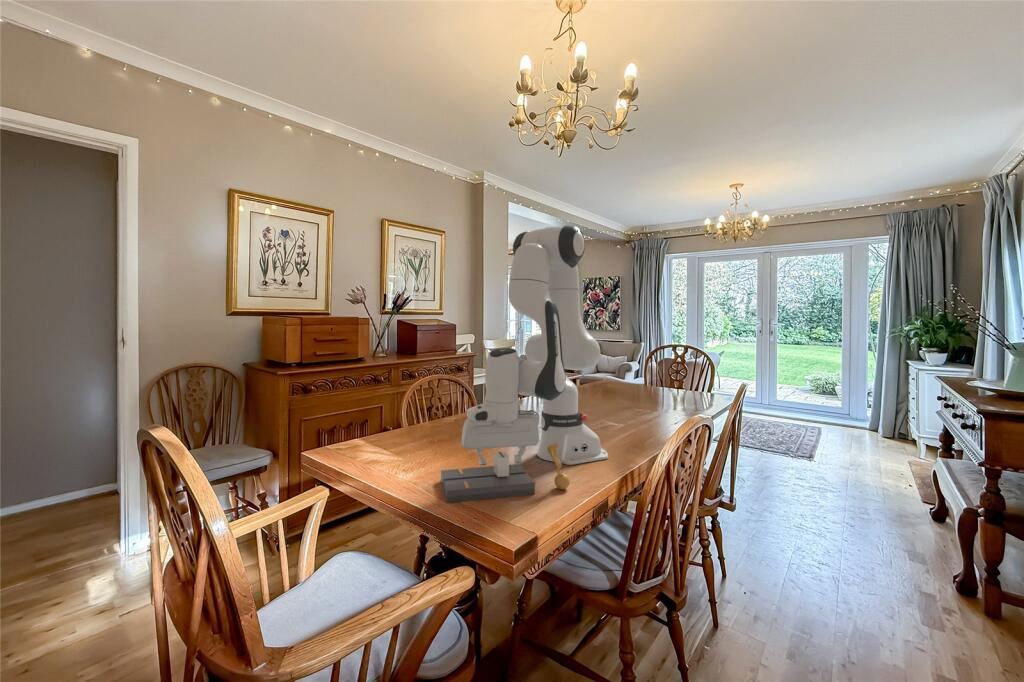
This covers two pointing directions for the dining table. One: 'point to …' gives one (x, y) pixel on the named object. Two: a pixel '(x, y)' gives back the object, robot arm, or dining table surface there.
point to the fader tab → (501, 464)
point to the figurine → (560, 479)
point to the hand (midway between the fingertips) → (500, 463)
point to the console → (485, 483)
